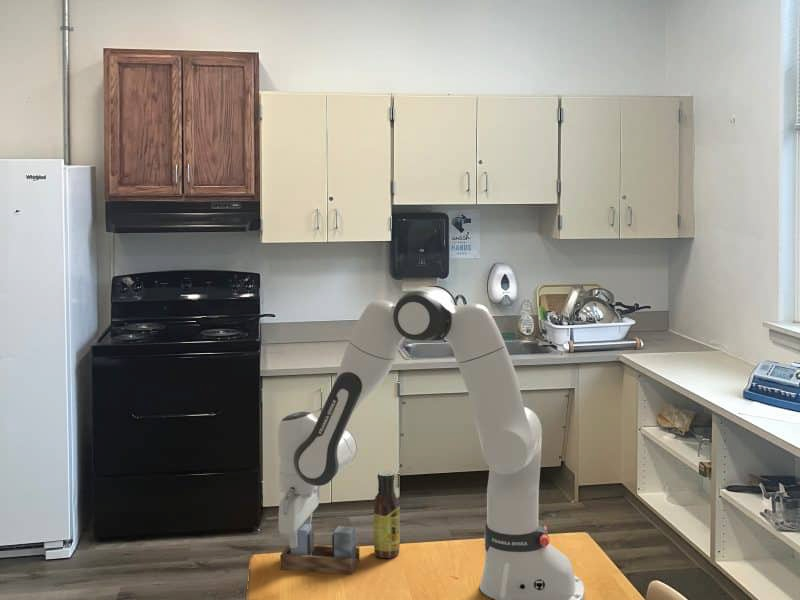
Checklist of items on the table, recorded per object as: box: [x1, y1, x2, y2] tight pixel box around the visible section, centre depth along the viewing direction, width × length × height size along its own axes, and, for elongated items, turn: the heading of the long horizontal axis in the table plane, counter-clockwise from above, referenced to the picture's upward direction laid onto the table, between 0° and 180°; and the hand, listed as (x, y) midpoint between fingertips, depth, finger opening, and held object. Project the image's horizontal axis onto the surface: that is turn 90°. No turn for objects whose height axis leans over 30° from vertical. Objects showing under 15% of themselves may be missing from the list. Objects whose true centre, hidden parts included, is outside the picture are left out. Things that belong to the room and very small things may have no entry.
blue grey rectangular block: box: [291, 523, 315, 555], centre depth 205 cm, size 5×4×8 cm
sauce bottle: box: [372, 470, 401, 559], centre depth 209 cm, size 6×6×20 cm
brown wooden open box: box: [279, 525, 361, 575], centre depth 204 cm, size 17×8×9 cm, turn 79°
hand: (300, 538), depth 205 cm, fingers open, 8 cm apart
